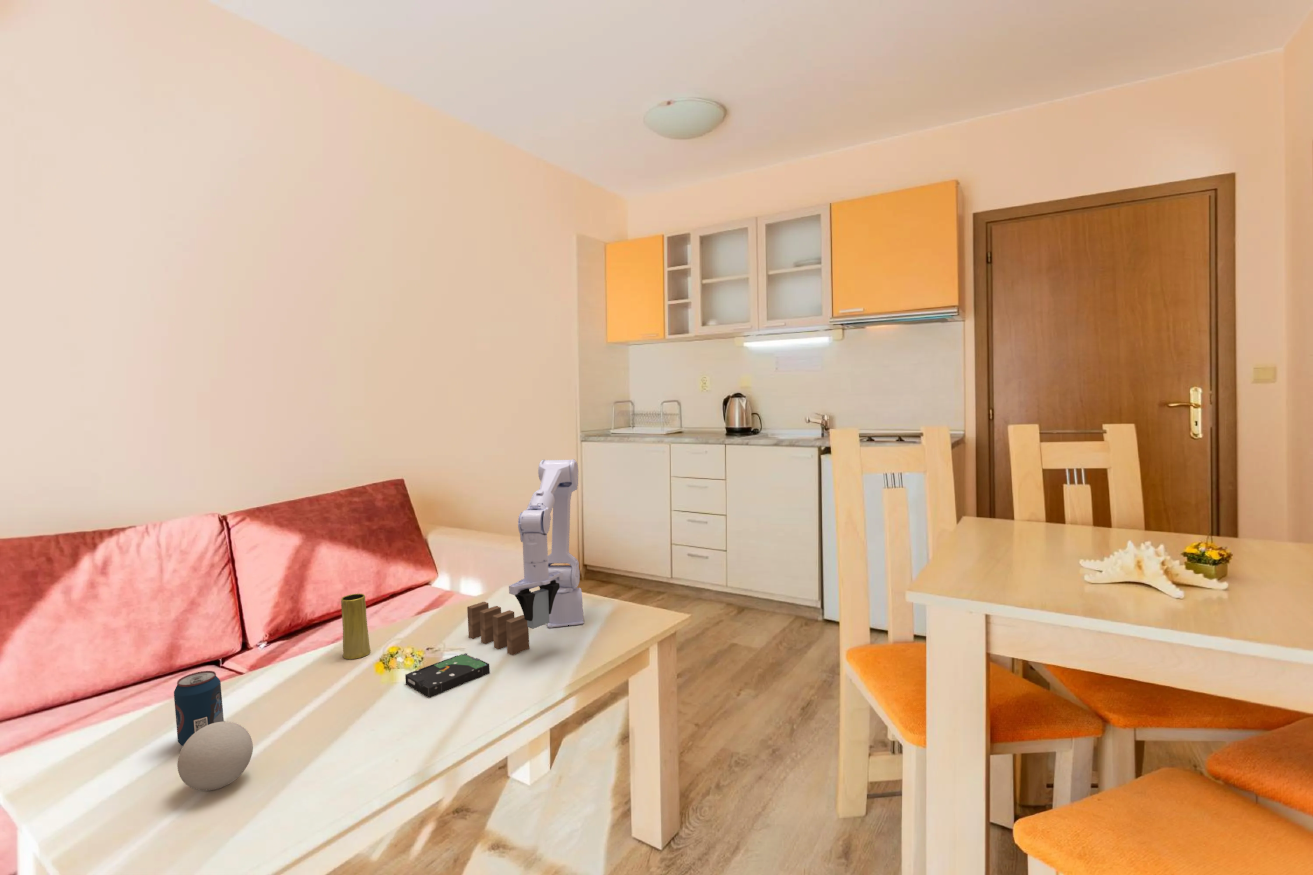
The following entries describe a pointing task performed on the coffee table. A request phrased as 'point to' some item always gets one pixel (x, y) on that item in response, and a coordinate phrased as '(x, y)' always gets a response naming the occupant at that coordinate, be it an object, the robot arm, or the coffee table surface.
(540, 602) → the domino
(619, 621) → the coffee table surface
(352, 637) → the vase
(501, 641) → the brown wooden block
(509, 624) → the domino
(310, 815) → the coffee table surface
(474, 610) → the pushed domino
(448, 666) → the disk drive
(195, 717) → the soda can
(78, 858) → the coffee table surface
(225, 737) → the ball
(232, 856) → the coffee table surface
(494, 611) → the domino
